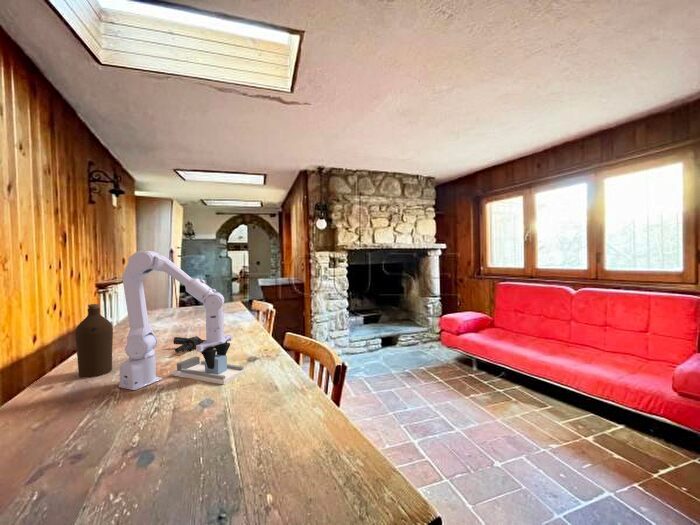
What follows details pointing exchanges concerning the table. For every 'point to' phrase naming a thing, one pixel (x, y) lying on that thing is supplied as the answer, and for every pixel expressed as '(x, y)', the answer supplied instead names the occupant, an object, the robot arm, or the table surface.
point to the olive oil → (94, 344)
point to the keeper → (218, 364)
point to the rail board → (197, 371)
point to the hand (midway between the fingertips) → (215, 366)
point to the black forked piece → (187, 343)
